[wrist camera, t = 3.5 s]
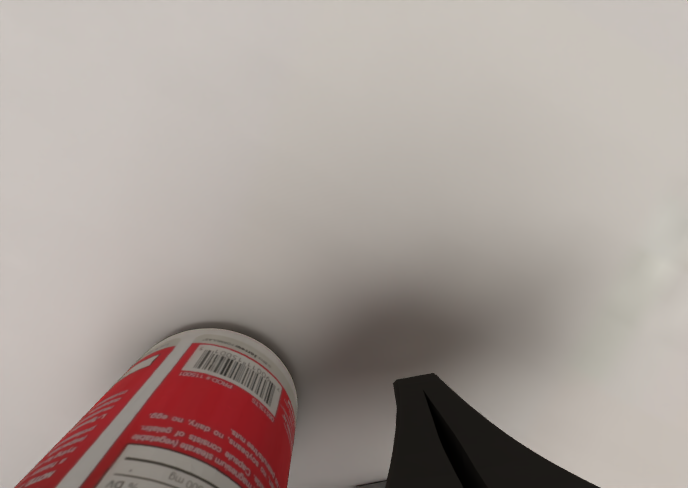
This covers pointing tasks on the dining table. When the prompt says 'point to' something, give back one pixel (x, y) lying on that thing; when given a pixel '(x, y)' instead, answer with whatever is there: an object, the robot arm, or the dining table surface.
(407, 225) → the dining table surface
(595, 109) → the dining table surface
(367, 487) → the slate screen
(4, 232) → the dining table surface
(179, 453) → the pill bottle
